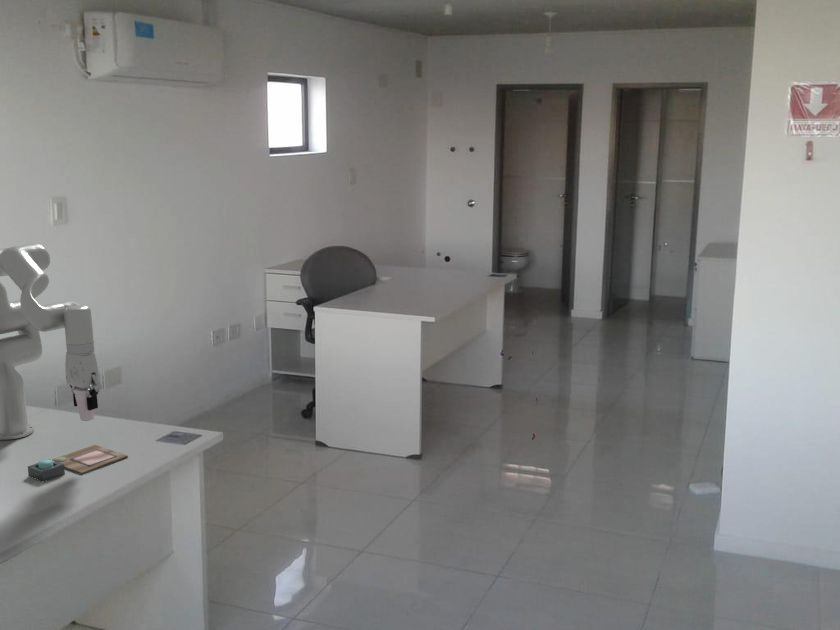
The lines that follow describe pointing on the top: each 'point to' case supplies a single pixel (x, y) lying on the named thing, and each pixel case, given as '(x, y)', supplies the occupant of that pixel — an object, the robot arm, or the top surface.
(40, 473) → the button housing
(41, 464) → the button
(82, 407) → the smoothie
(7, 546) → the top surface
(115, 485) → the top surface
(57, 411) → the top surface
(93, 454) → the picture board
